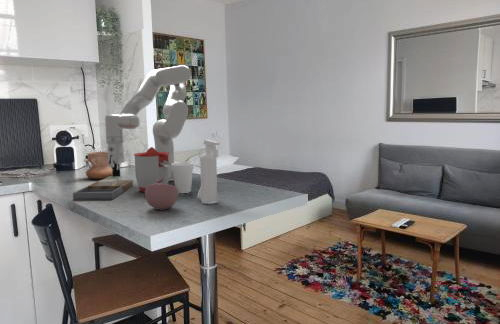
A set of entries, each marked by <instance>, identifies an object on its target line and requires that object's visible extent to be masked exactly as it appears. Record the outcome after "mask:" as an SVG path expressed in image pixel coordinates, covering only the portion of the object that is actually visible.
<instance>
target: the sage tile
mask: <svg viewBox="0 0 500 324" xmlns="http://www.w3.org/2000/svg"><path fill="white" fill-rule="evenodd" d="M105 179H117V183H118V182H120V181H122V180H123V177H122V175H120V176H109V177H107V178H105Z"/></svg>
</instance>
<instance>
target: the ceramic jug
mask: <svg viewBox="0 0 500 324" xmlns="http://www.w3.org/2000/svg"><path fill="white" fill-rule="evenodd" d="M86 156H87V158H85V159H83V162H85V163H86V162H89V164H90V165H91V167H90V168H88V169H87V170H86V171H85V175H86V177H87V178H89V179H90V180H91V179H92V180H103V179H105V178H107V177H109V176H113V174H112V167H111V166H109V165H110V164H109V163H108V151H90V152H87V155H86Z"/></svg>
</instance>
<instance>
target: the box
mask: <svg viewBox="0 0 500 324" xmlns="http://www.w3.org/2000/svg"><path fill="white" fill-rule="evenodd" d="M120 194H121V195H122V194H124V193H123V189H122V186H120V187H119V188H117V189H88V187H87V186H85V187H83V188H80V189H79V190H77V191H74V192H73V193H72V197H73V199H72V200H73V201H113V200H115V199H116V198H117V197H119V196H121V195H120Z"/></svg>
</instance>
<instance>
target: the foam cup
mask: <svg viewBox="0 0 500 324" xmlns="http://www.w3.org/2000/svg"><path fill="white" fill-rule="evenodd" d="M172 171H173V177H174V180H173V182H174V186H175V187H177V188H178V193H188V192H190V191H191V190H192V182H193V174H194V173H193V172H194V162H187V161H186V162H185V161H184V162H183V161H181V162H180V161H179V162H174V163H172ZM190 193H191V192H190ZM188 194H189V193H188Z"/></svg>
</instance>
